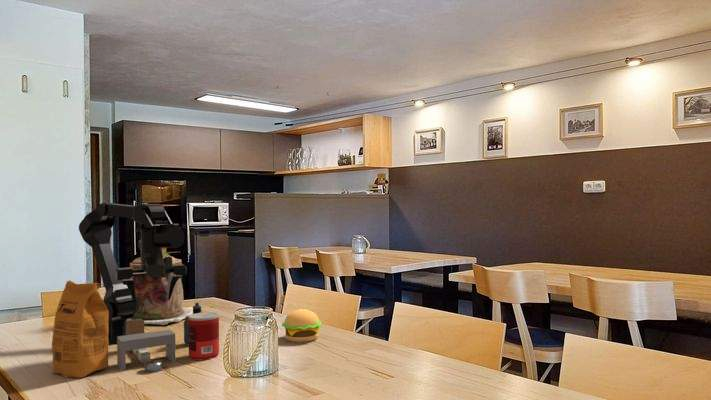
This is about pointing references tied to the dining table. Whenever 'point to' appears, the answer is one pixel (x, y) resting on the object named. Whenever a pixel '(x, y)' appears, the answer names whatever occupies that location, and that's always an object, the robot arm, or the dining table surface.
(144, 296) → the cookie jar
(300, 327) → the hamburger
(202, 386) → the dining table surface
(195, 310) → the vaping device
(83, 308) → the coffee package
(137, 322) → the blade tool
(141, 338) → the low shelf
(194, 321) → the canned food
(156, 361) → the steel token
